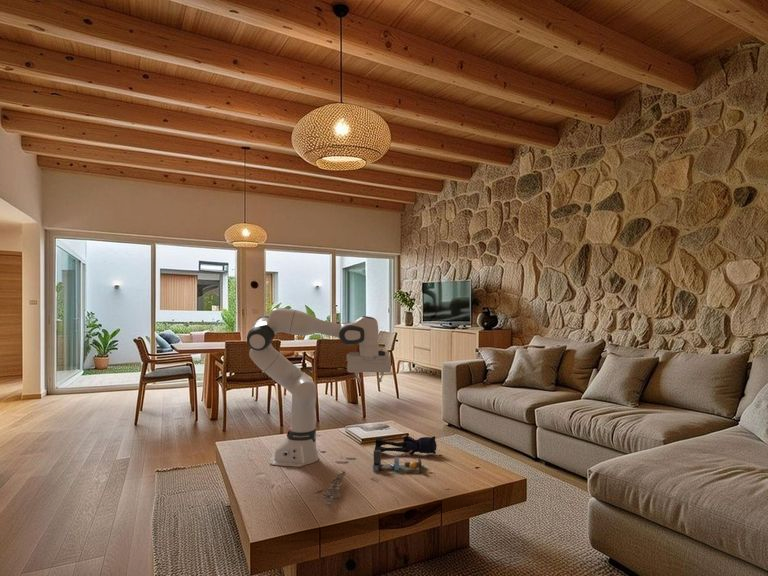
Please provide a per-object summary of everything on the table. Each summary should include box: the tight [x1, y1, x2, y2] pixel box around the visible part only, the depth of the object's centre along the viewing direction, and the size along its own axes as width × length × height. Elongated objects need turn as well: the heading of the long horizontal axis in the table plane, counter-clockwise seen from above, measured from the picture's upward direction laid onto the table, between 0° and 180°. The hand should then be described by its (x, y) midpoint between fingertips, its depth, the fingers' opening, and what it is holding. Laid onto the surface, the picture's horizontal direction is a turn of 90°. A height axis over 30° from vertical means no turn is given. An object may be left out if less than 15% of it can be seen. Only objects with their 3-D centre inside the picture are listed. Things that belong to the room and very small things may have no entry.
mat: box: [391, 464, 426, 475], centre depth 199 cm, size 14×10×1 cm
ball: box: [409, 460, 417, 469], centre depth 199 cm, size 4×4×4 cm
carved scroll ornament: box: [324, 470, 346, 506], centre depth 173 cm, size 5×30×4 cm, turn 174°
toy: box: [374, 434, 437, 457], centre depth 218 cm, size 10×9×30 cm
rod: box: [372, 449, 400, 472], centre depth 199 cm, size 12×5×8 cm, turn 88°
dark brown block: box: [373, 465, 379, 473], centre depth 199 cm, size 2×6×3 cm, turn 178°
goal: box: [404, 453, 422, 473], centre depth 199 cm, size 7×9×5 cm
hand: (369, 382), depth 207 cm, fingers open, 8 cm apart
